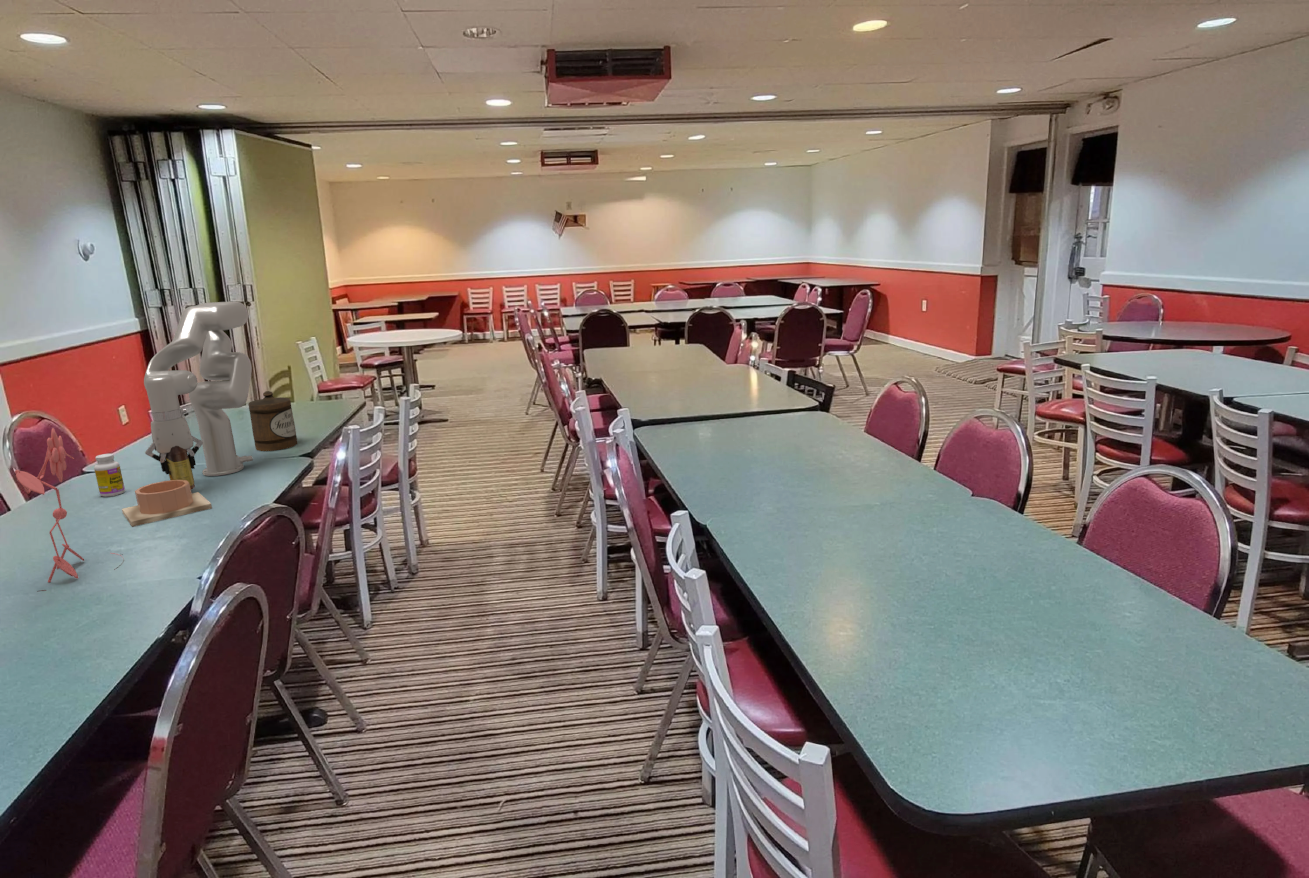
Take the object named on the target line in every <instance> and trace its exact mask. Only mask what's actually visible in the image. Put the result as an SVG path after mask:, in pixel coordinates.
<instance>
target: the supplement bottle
mask: <svg viewBox="0 0 1309 878" xmlns="http://www.w3.org/2000/svg"><path fill="white" fill-rule="evenodd" d="M114 459H115V455H114V454H113V453H103V454H98V455H96V456H95V461H96V464H95V465H94V466H93V467H94V468H93V469H94V473H95V479H96V482H97V483H96V484H97V486H98V491H99V495H100V497H105V498H106V497H107V498H108V497H115V496H119V495H121V494H123V493H125V492H126V488H125V485H124V484H125V483H124V479H123V474H122V470H121V466H120V463H119V462H118V461H116V460H114Z"/></svg>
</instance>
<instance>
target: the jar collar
mask: <svg viewBox="0 0 1309 878" xmlns="http://www.w3.org/2000/svg"><path fill="white" fill-rule="evenodd" d="M192 493H193V492H192V490H191V488H190V484H189V482H188V481H187V480H170V479H169V480H162V481H158V482H153V483H150V484H146V485H143V486H141V487H140V486H139V488H137V489H135V490H134V495H135V499H136V502H137V505H138V508H139V511H140V512H141V513H142V514H158V513H166V512H170V511H175V510H179V509H181V508H184V507H187V506H189V505H190V504H191V503H192V502H193V498H192Z"/></svg>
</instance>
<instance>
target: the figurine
mask: <svg viewBox="0 0 1309 878" xmlns="http://www.w3.org/2000/svg"><path fill="white" fill-rule="evenodd" d="M62 437H63V436H61V435H59V436H58V433H57V432H56V429H55V428H54V427H52V428H51V433H50V437H48V438H47V439H46V444H47V448H46V454H45V457H44V463H43V465H42V466H41V469H40V471H39V473H38V475H37V476H35V475H33V474H32V473H30V472H28V471H22V470H20V469H15V470H14V473H15V477H16V479H17V482H18V483H20V484H21V486H23V489H24V491H25V492H26V493H27V495H29V494H30V493H31V491H32V492H34V493H37V494H40V495H45V487H44V485H45V486H47V487H49V488H51V489H52V490H54V491H55V494H56V497H57V503H58V506H59V507H58V508H56V509H54V510H53V512H52V517H53V519H55V523H54V525H53V526H52V528H51V529H50V530H49V536H50V539H51V543H52V544H53V548H54V551H55V554H56V555H54V556H52V560H53V561H54V564H53V567H52V570H51V572H50V575H49V577H48V578H47V579H48V580H47V583H51V582H52V579H53V577H54V575H55V572H56V569H57V570H58V569H60V570H61V571H63V572H64V573H65V574H67V575H69V576H70V577H72V578H75V579H79V576H78V573H77V570H76V569H75V568H74V567H73V566H72V564H71V563H69V561H67V560H66V559H64V557H65V555H66V553H67V551H68V552H70V553H72V554H73V555H74V556H75V557H77V558H78V559H79V560H81V561H82V562H84V561H85V559H84V558H83V556H81V555H80V554H79V553H77V551H75V550H73V548H71V547H70V544H68V541H67V540H66V537H65V533H64V532H63V529H62V527H61V525H60V523H59V521H60V520H63V519H65V518H66V517H67V516H68V515H67V514H68V511H67V510H66V509H65V508H63V507H62V501H61V495H60V491H59V489H58V487H56V486H53V485H51V484H49V483H47V482H45V481H42V479H43V478H44V477H45V474H46V470H47V469H46V468H47V465H48V463H49V466H50V472H51V475H52V476H55V475H56V477H57V479H58V481H59V483H62V482H63V480H64V476H63V473H64V471H66V470H67V467H68V466H67V462H66V458H67V457H69V458H70V459H72V460H75V459H76V458H75V457H73V456H72V455H70V454H68V453H67V451H66V449H65V448H64V441H63V438H62ZM55 527H58V529H59V531H60V533H61V536H62V539H63V541H64V543H62V544H61V545H62V547H64V548H63V551H62V553H61V556H60V555H59V551H58V549H57V546H56V543H55V539H54V536H53V533H52V532H53V531H54V529H55ZM111 554H112V555H113V554H114V555H118V556H121V557H122V556H123V554H122V553H121V554H120V553H119V554H118V553H115V552H111ZM122 559H123V561H122V563H121V564H120V566H122V565H123V563H124V561H125V560H124V557H122ZM118 568H119V566H117V567H116V568H114V571H115V570H116V569H118ZM45 591H47V590H46V589H44V590H40V592H45ZM36 592H39V590H36Z"/></svg>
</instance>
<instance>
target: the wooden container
mask: <svg viewBox="0 0 1309 878" xmlns="http://www.w3.org/2000/svg"><path fill="white" fill-rule="evenodd" d="M262 395H263V398H261V399H257V400H253V401H250V402H248V411H249V416H250V423H251V429H252V436H253V440H254V447H255V450H256V451H257V452H258V451H259V452H274V451H277V452H278V451H282V450H286V449H290V448H294V447H295V446H296V445H297V446H298V437H297V431H296V424H295V419H294V414H293V409H292V402H291V401H292V400H291V398H290V397H286V396H285V397H284V396H283V397H274V396H273V391H271V390H268V391H267V390H266V391H264V392H263V394H262Z"/></svg>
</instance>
